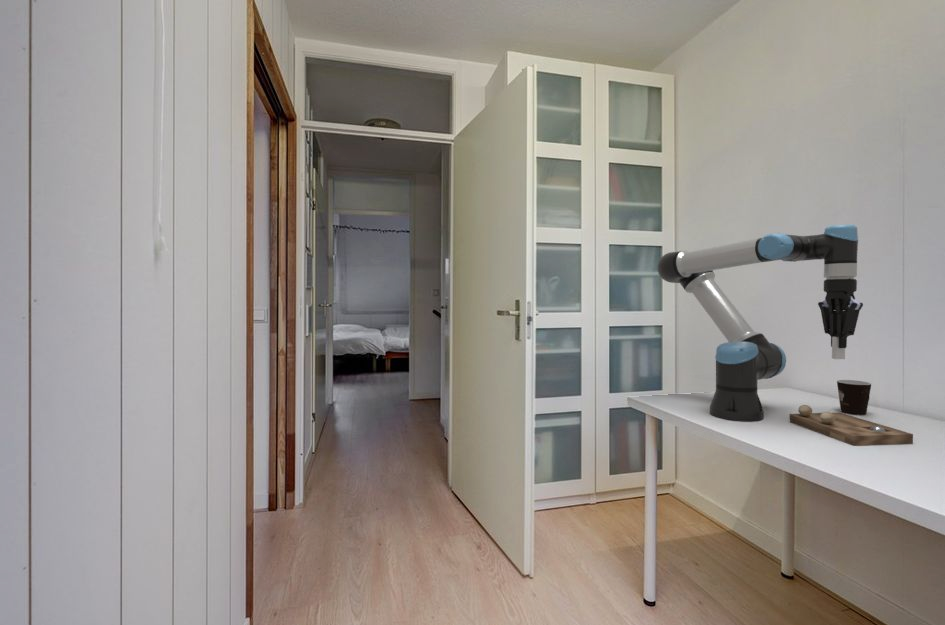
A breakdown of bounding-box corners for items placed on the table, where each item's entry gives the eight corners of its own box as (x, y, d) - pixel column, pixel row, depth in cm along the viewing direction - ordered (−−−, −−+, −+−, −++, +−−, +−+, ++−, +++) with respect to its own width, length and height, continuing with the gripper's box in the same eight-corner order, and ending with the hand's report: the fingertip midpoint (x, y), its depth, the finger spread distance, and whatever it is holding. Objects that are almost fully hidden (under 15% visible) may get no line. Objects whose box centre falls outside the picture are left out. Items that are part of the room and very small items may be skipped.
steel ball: (869, 440, 122) (879, 437, 119) (863, 427, 124) (873, 424, 121) (881, 440, 122) (892, 436, 119) (875, 427, 124) (885, 424, 121)
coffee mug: (836, 408, 154) (837, 378, 153) (870, 411, 148) (870, 381, 148) (836, 415, 145) (836, 384, 144) (872, 419, 139) (872, 387, 139)
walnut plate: (853, 445, 116) (854, 436, 116) (789, 422, 138) (789, 413, 138) (912, 443, 117) (913, 434, 117) (839, 420, 139) (839, 412, 139)
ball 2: (826, 425, 126) (826, 413, 125) (816, 422, 129) (817, 410, 129) (838, 425, 126) (838, 413, 126) (828, 421, 129) (828, 410, 129)
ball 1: (804, 417, 133) (804, 406, 133) (795, 414, 137) (795, 403, 137) (815, 417, 134) (815, 406, 134) (806, 414, 137) (806, 403, 137)
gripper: (873, 277, 126) (871, 361, 127) (833, 279, 139) (831, 355, 140) (847, 277, 126) (845, 362, 127) (810, 279, 139) (808, 356, 140)
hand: (838, 358), depth 133 cm, fingers closed
